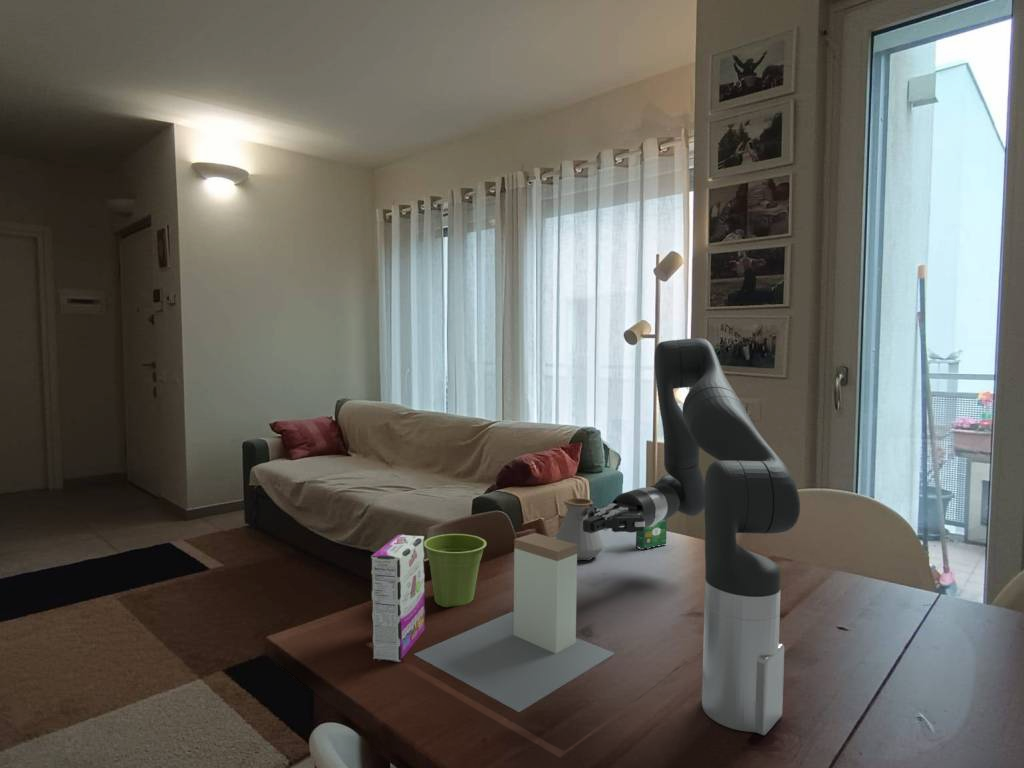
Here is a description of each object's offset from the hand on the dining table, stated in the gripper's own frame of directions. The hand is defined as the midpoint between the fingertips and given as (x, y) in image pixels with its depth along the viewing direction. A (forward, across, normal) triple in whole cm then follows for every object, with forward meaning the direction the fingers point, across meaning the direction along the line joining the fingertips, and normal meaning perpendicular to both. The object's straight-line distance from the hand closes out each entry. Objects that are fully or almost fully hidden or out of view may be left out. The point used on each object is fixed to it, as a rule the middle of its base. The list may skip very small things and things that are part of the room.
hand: (586, 526), depth 108 cm
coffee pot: (-24, -19, +17) cm, 35 cm away
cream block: (+11, 0, +16) cm, 20 cm away
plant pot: (+10, -23, +17) cm, 30 cm away
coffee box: (-46, -14, +18) cm, 51 cm away
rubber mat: (+18, 0, +17) cm, 25 cm away
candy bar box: (+28, -16, +17) cm, 37 cm away
